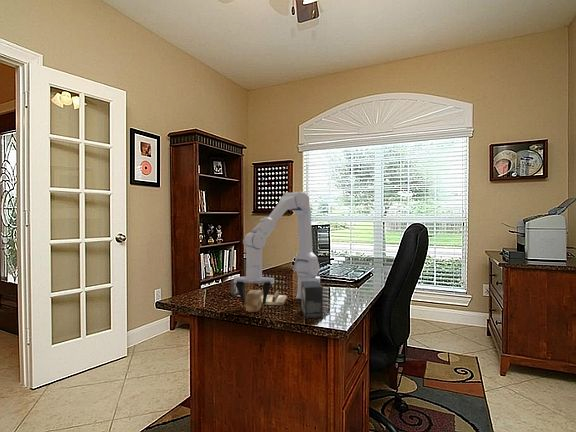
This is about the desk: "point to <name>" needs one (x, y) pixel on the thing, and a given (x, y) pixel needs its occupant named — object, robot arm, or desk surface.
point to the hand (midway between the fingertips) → (253, 303)
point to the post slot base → (274, 299)
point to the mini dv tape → (234, 288)
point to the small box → (312, 299)
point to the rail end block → (253, 300)
